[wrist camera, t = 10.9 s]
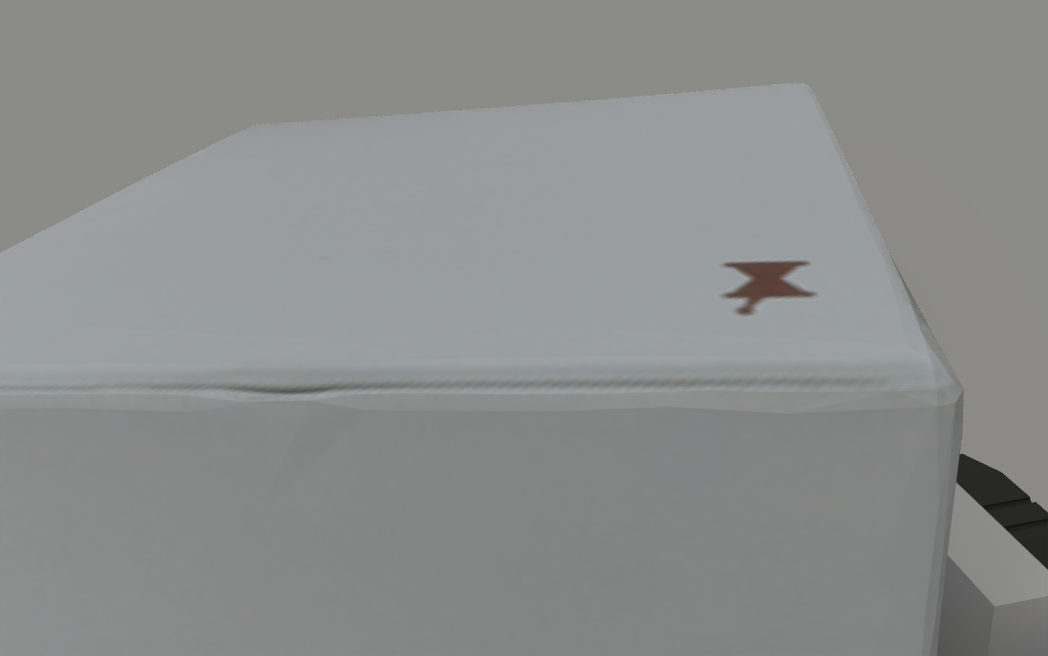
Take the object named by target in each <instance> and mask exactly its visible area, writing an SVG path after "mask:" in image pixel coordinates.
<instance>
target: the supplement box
mask: <svg viewBox="0 0 1048 656" xmlns="http://www.w3.org/2000/svg"><path fill="white" fill-rule="evenodd" d="M963 392H964V390H963V387H962V386H961V384H960V382H959V380H958V379H957V377H956V375H955V373H954V371H953V370H952V368H951V366H950V364H949V362H948V361H947V359H946V357H945V355H944V353H943V352H942V350H941V348H940V347H939V345H938V343H937V341H936V339H935V337H934V335H933V333H932V332H931V330H930V328H929V326H928V324H927V323H926V321H925V319H924V317H923V315H922V313H921V311H920V310H919V308H918V306H917V304H916V303H915V301H914V299H913V297H912V295H911V293H910V291H909V289H908V287H907V285H906V284H905V282H904V280H903V278H902V276H901V274H900V273H899V271H898V269H897V267H896V265H895V263H894V261H893V259H892V258H891V256H890V254H889V252H888V250H887V248H886V246H885V244H884V241H883V239H882V237H881V235H880V233H879V231H878V229H877V227H876V224H875V222H874V220H873V218H872V216H871V214H870V212H869V209H868V207H867V206H866V203H865V201H864V199H863V197H862V195H861V193H860V191H859V189H858V186H857V184H856V182H855V179H854V177H853V174H852V172H851V170H850V168H849V166H848V164H847V162H846V160H845V158H844V156H843V154H842V152H841V149H840V147H839V145H838V143H837V140H836V138H835V136H834V134H833V132H832V130H831V128H830V126H829V124H828V122H827V120H826V118H825V116H824V114H823V112H822V109H821V106H820V105H819V104H818V100H817V98H816V96H815V94H814V92H813V91H812V90H811V89H810V88H809V87H808V86H807V84H803V83H788V84H776V85H765V86H755V87H744V88H732V89H721V90H710V91H698V92H685V93H673V94H661V95H649V96H637V97H625V98H614V99H601V100H589V101H576V102H562V103H549V104H535V105H522V106H508V107H495V108H481V109H467V110H455V111H442V112H427V113H414V114H400V115H388V116H374V117H360V118H346V119H331V120H318V121H302V122H289V123H288V122H287V123H269V124H258V125H254V126H252V127H250V128H248V129H246V130H243V131H241V132H239V133H236V134H234V135H232V136H230V137H227V138H225V139H223V140H221V141H219V142H217V143H215V144H213V145H211V146H209V147H207V148H205V149H203V150H201V151H199V152H197V153H195V154H193V155H191V156H189V157H187V158H185V159H183V160H181V161H179V162H177V163H175V164H173V165H171V166H168V167H167V168H164V169H162V170H161V171H158V172H156V173H155V174H152V175H151V176H149V177H146V178H144V179H142V180H141V181H138V182H137V183H135V184H133V185H131V186H129V187H127V188H125V189H123V190H121V191H119V192H117V193H115V194H113V195H111V196H109V197H107V198H105V199H103V200H101V201H99V202H97V203H95V204H93V205H92V206H90V207H88V208H86V209H84V210H82V211H80V212H78V213H77V214H75V215H73V216H71V217H69V218H67V219H65V220H63V221H61V222H59V223H57V224H55V225H54V226H52V227H50V228H48V229H46V230H44V231H42V232H40V233H38V234H36V235H35V236H32V237H30V238H28V239H27V240H25V241H23V242H21V243H19V244H17V245H15V246H13V247H11V248H9V249H7V250H5V251H3V252H1V253H0V656H937V648H938V637H939V627H940V617H941V608H942V599H943V590H944V581H945V573H946V564H947V555H948V546H949V538H950V529H951V521H952V513H953V505H954V496H955V488H956V480H957V472H958V463H959V455H960V447H961V439H962V422H963Z"/></svg>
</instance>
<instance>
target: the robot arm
mask: <svg viewBox="0 0 1048 656" xmlns="http://www.w3.org/2000/svg"><path fill="white" fill-rule="evenodd" d="M937 656H1048V512H1047V511H1045V510H1044V509H1043V508H1042V507H1041V506H1040V505H1038V504H1037V503H1036V502H1033V503H1032V502H1031V500H1030V497H1029V496H1028V495H1027V494H1026V493H1025V492H1024V491H1022V490H1021V489H1020V488H1019V487H1018V486H1016V484H1014V483H1013V482H1012V481H1011V480H1010V479H1008V478H1007V477H1006V476H1005V475H1004V474H1003V473H1001V472H1000V471H998V470H995V469H993V468H991V467H989V466H987V465H985V464H983V463H981V462H979V461H976V460H974V459H972V458H970V457H968V456H966V455H964V454H960V455H959V463H958V472H957V480H956V488H955V496H954V505H953V513H952V521H951V529H950V538H949V546H948V555H947V564H946V573H945V581H944V590H943V599H942V608H941V617H940V627H939V637H938V648H937Z"/></svg>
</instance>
